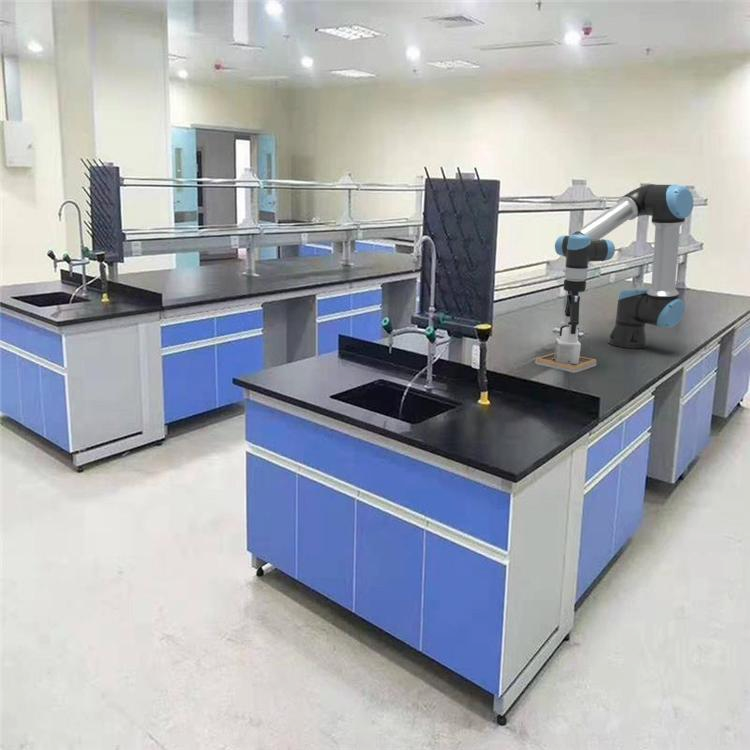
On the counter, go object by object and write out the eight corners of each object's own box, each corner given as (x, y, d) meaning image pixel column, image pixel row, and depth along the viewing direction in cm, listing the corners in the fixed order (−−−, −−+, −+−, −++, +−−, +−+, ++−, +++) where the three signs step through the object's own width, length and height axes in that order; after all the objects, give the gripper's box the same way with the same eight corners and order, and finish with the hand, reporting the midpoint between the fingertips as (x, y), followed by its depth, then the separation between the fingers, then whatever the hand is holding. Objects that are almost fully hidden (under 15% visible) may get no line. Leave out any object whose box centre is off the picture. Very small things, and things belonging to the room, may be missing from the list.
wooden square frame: (557, 357, 266) (557, 351, 265) (596, 365, 255) (597, 359, 255) (534, 363, 255) (535, 357, 254) (574, 373, 244) (575, 366, 244)
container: (553, 358, 259) (557, 323, 255) (575, 359, 258) (579, 324, 255) (556, 363, 251) (560, 328, 248) (578, 364, 251) (582, 329, 247)
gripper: (560, 274, 259) (555, 330, 265) (568, 284, 235) (562, 345, 241) (581, 274, 258) (575, 331, 264) (591, 285, 234) (584, 346, 240)
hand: (569, 338), depth 253 cm, fingers open, 13 cm apart
